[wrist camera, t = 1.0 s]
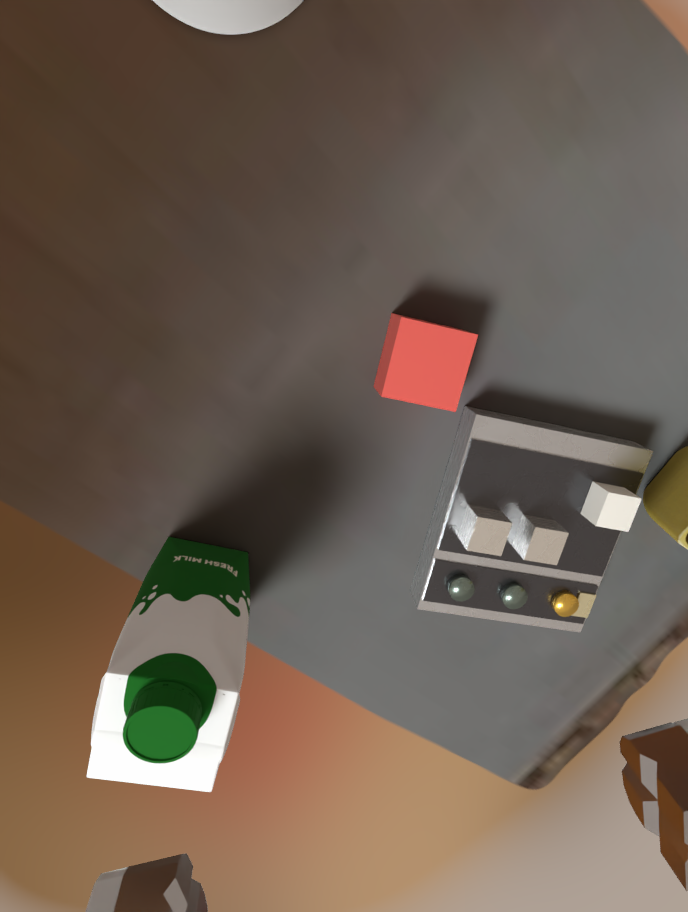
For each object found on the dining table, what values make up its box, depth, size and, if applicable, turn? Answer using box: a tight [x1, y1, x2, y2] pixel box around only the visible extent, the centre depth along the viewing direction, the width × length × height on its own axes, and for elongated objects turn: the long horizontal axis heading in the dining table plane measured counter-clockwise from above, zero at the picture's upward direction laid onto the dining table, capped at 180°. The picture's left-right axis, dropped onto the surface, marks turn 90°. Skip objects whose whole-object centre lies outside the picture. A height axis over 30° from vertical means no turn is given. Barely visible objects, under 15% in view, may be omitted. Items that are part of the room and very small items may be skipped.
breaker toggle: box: [580, 481, 641, 532], centre depth 47 cm, size 3×3×2 cm
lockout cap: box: [374, 313, 478, 412], centre depth 45 cm, size 6×6×4 cm
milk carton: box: [87, 537, 250, 792], centre depth 41 cm, size 9×9×20 cm
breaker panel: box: [410, 406, 653, 632], centre depth 49 cm, size 18×16×6 cm
